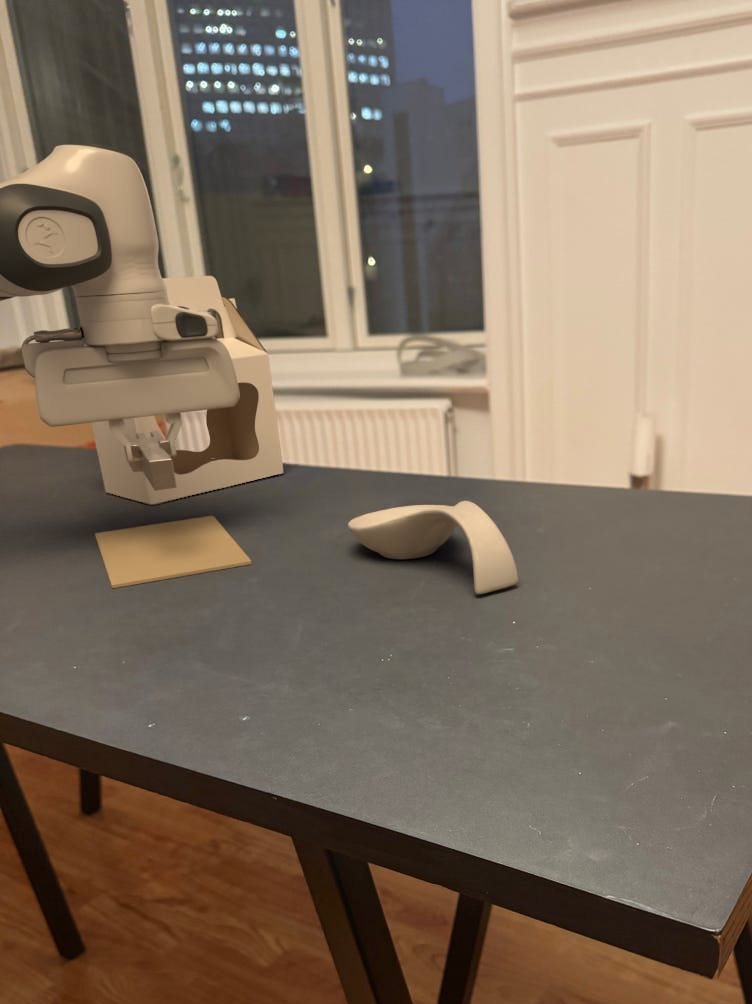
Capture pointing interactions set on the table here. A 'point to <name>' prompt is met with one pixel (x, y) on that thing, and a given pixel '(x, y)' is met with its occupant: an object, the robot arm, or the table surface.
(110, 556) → the place mat
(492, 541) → the spoon rest
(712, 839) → the table surface
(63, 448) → the table surface
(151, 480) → the fork
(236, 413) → the gable box
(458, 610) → the table surface
